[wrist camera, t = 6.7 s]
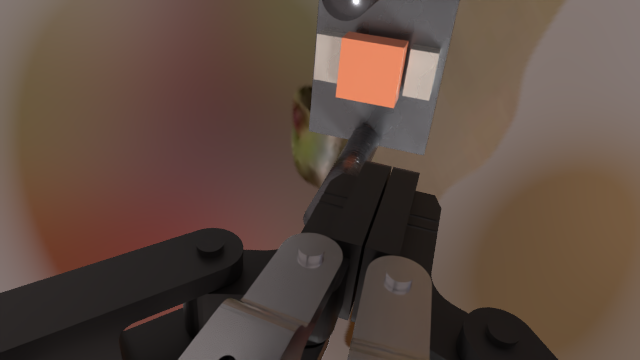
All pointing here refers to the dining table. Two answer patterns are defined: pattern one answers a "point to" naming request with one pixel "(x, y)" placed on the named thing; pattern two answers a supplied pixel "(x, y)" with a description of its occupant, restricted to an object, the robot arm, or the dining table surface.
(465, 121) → the dining table surface
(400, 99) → the twin post stand
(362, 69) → the button
